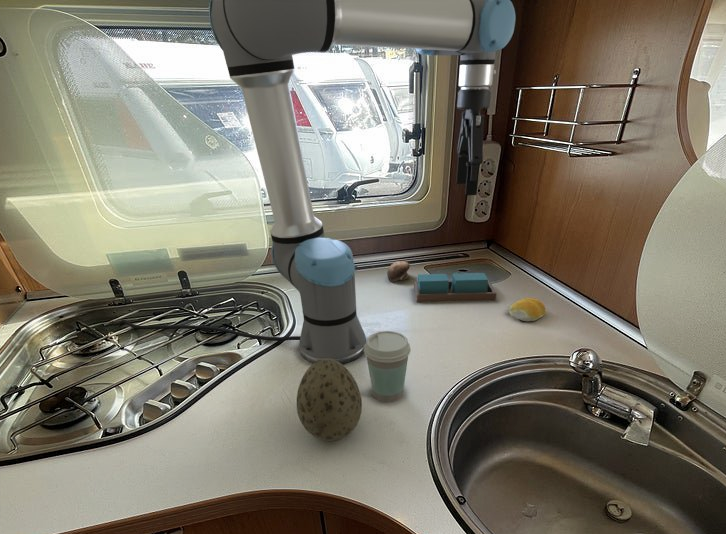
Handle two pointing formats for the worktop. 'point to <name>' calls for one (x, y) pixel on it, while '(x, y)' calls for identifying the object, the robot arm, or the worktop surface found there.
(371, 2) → the robot arm
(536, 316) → the bread roll
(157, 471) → the worktop surface
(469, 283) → the teal rectangular block
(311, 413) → the decorative egg
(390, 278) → the mushroom
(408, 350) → the coffee cup
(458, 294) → the brown shallow rectangular tray
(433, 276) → the turquoise block
